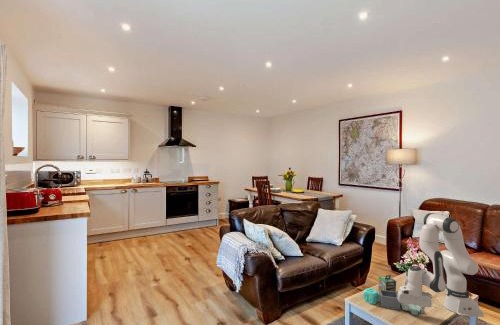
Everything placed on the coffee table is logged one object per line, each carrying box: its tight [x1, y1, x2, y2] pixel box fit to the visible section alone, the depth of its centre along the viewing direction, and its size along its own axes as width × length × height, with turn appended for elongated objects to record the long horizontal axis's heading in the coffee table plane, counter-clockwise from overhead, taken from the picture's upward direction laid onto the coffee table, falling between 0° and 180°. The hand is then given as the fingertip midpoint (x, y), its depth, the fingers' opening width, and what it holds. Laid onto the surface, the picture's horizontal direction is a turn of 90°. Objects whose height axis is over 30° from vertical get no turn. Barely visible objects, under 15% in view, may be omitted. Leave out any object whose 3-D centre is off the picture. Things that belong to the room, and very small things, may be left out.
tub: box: [378, 288, 401, 311], centre depth 196 cm, size 12×10×8 cm
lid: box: [400, 303, 424, 316], centre depth 190 cm, size 13×15×3 cm
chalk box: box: [378, 274, 397, 292], centre depth 213 cm, size 9×9×15 cm
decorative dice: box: [362, 287, 379, 305], centre depth 201 cm, size 8×8×8 cm
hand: (413, 310), depth 186 cm, fingers open, 8 cm apart
